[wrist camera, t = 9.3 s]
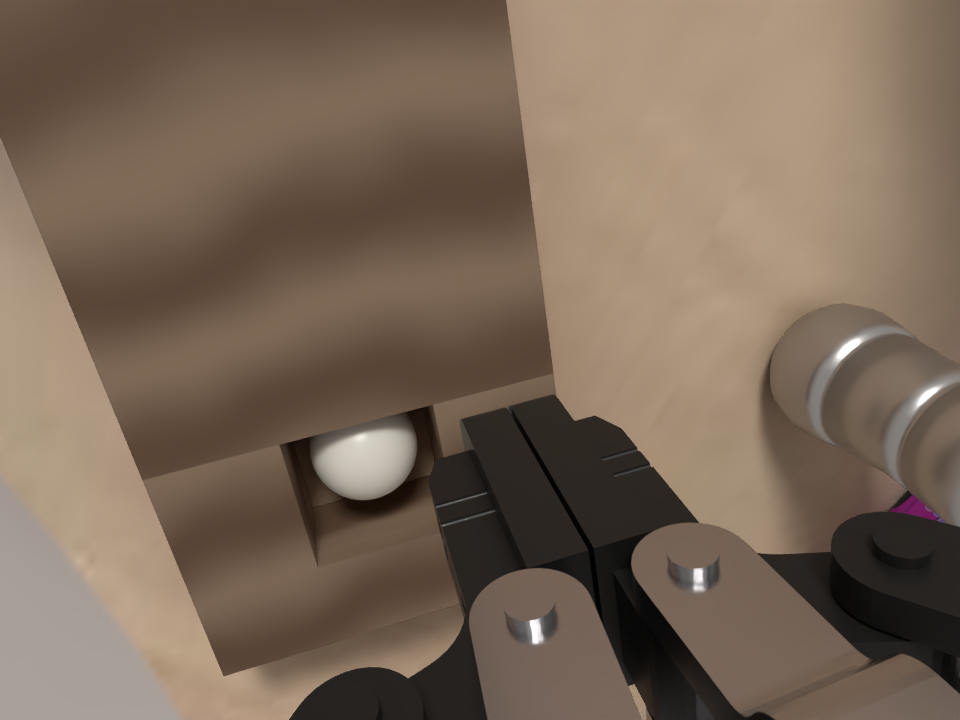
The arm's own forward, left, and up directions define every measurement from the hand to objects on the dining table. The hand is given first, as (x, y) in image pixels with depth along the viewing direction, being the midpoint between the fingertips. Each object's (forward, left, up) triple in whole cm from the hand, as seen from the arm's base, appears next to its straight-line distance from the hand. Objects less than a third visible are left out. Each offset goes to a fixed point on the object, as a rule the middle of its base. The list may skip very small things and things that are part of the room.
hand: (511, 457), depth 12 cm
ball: (+2, +9, -18) cm, 21 cm away
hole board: (+2, +4, -21) cm, 21 cm away
